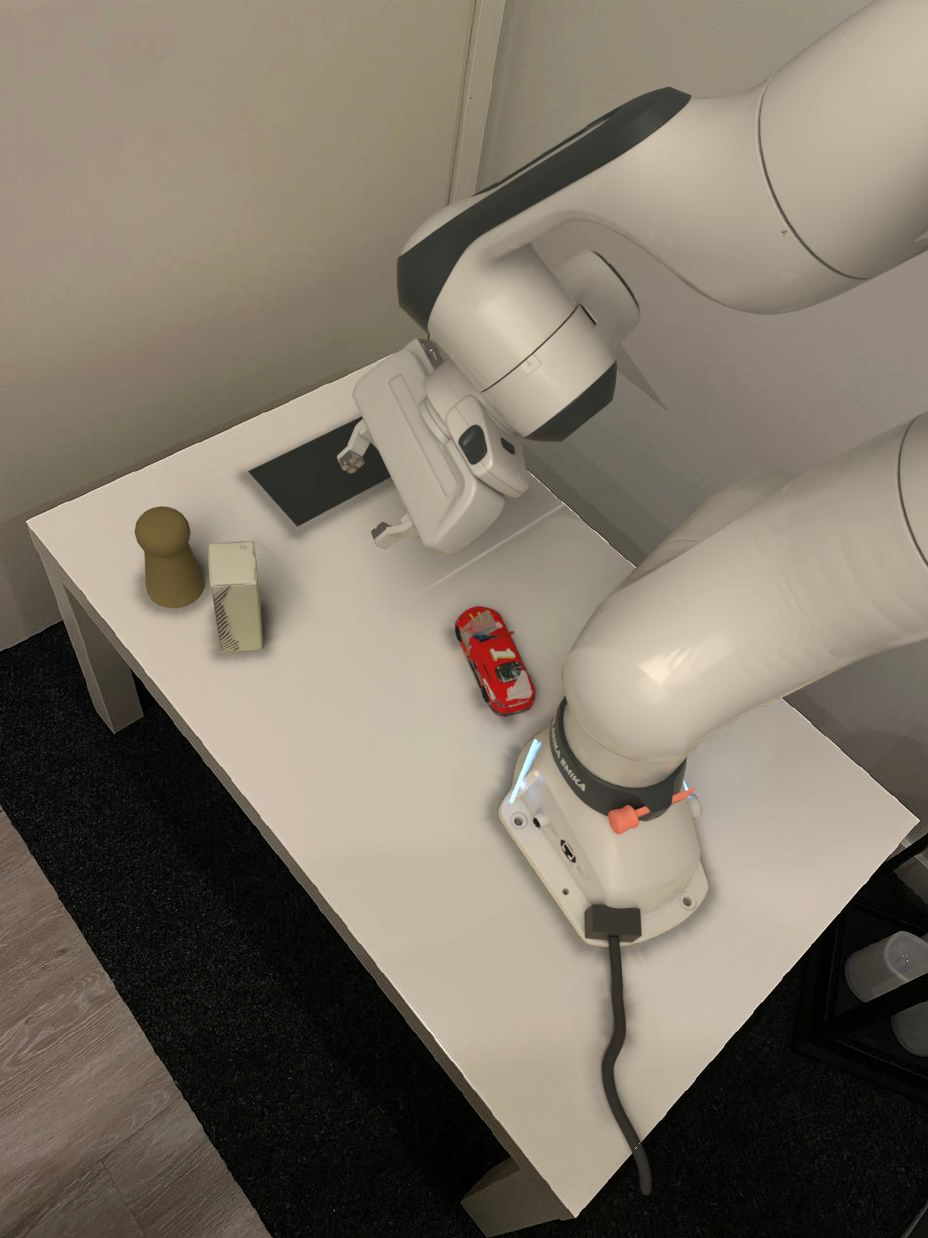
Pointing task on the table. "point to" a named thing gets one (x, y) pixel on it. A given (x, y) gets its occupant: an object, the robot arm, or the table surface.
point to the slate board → (318, 475)
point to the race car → (495, 661)
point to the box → (236, 595)
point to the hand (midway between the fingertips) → (359, 502)
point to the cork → (168, 558)
